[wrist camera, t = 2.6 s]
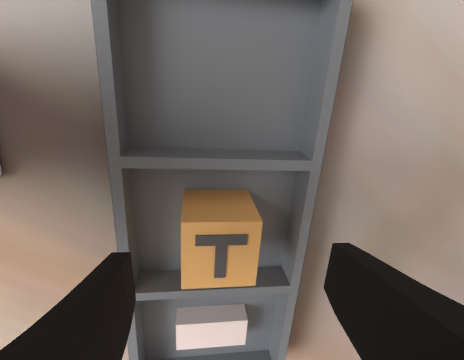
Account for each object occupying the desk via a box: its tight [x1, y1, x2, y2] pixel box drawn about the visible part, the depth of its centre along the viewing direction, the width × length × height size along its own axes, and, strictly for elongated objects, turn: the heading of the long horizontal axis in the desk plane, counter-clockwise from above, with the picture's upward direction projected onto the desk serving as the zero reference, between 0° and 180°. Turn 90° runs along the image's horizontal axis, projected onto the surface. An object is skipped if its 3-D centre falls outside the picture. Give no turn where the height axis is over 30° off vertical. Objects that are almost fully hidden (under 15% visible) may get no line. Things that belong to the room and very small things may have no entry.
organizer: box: [91, 0, 353, 360], centre depth 17 cm, size 11×26×2 cm, turn 177°
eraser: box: [176, 304, 248, 350], centre depth 20 cm, size 5×2×2 cm, turn 86°
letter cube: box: [181, 190, 263, 289], centre depth 15 cm, size 4×4×4 cm
